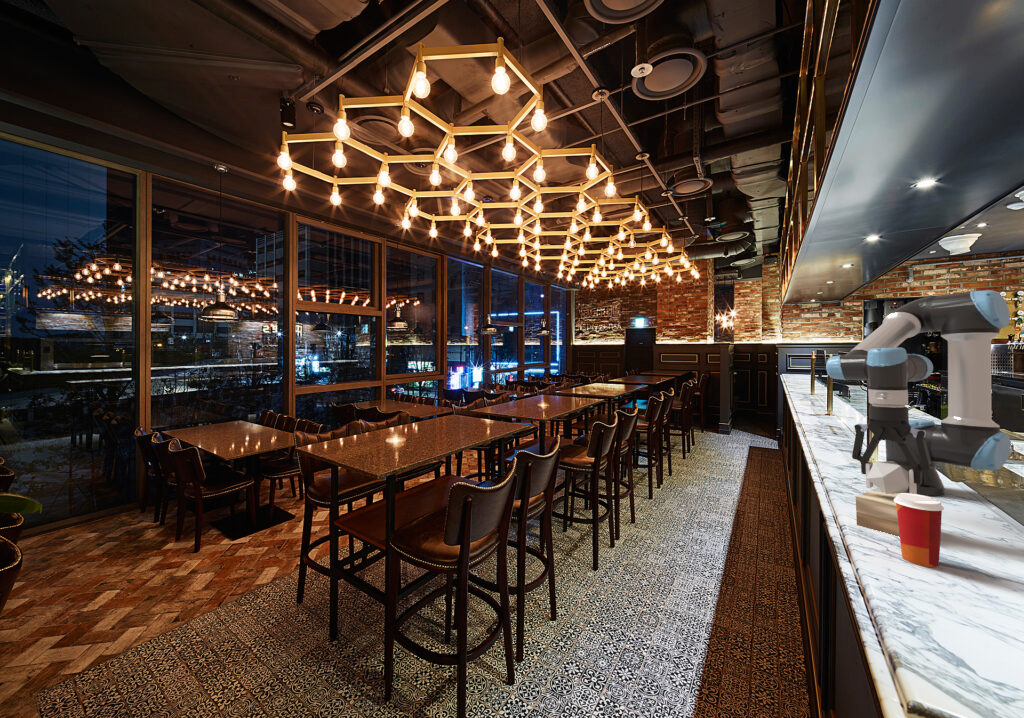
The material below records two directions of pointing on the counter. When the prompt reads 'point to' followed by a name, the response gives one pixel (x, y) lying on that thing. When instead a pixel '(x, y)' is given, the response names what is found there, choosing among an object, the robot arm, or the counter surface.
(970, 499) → the counter surface
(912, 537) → the paper cup
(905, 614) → the counter surface
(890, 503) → the tower top slab
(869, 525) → the tower base slab
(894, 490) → the die
